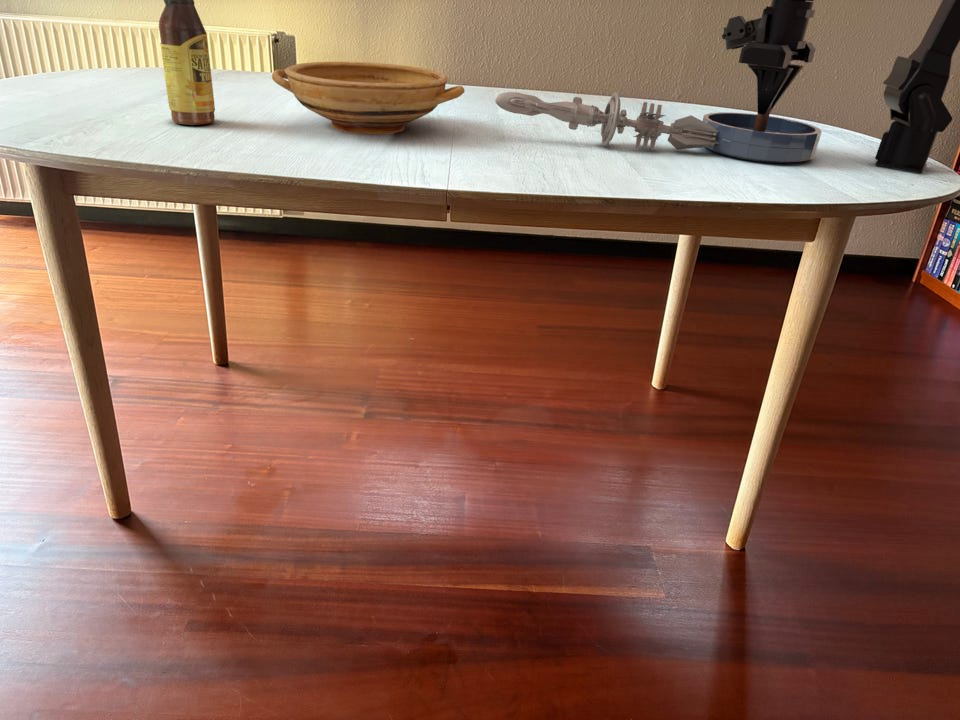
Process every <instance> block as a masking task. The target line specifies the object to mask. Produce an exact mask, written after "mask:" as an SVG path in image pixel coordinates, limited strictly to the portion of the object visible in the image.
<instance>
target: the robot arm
mask: <svg viewBox="0 0 960 720" xmlns="http://www.w3.org/2000/svg"><path fill="white" fill-rule="evenodd" d="M814 2H815V0H771V2H770V6H768V5H767V6H766V7H765V8H764V9H763V10H762V14H761V17H759V18H755V19H750V20H747V21H746V19H745V17H744V15H737V16H734V17H733V16H732V17H730V18H729V19H728V22H727V24H726V27H723V33H722V34H721V39H722V40H725V50H726V51H729V50H732V51H733V50H737V49H741V50H740V55H739V57H738V58H739V59H738V63H740V64H746V65H747V66H748V68H749V69H750V70H751V71H752V72H753V74H754V75H755V76H756V87H757V89H756V90H757V92H756V93H757V97H756V98H757V113H758V114H763V115H764V114H766V112H767V111H768V109H769V107H770V106H771V104H772V107H771V111H770V113H771V112H772V111H773V109H774V108H775V106H776V105H777V103H778V102H779V100H780V99H781V98H782V96H783V95H784V94H785V92H786V91H787V90H788V88H789V87H790V85H791V84H792V83H793V81H795V79H796V78H797V76H798V75H799V74H800V72H801V71H802V70H803V69H804V67H805V66H804V65H800V64H795V63H796V61H799V62H801V61H802V62H803V63H805V64H808V63H813V59H814V56H815V53H816V48H815V46H814V44H813V43H812V41H807V40H805V37H806V33H807V29H808V26H809V21H810V18H812V19H813V18H814V16H815V12H816V9H813V8H814ZM959 43H960V0H941V3H940V4H939V6H938V8H937V10H936V11H935V14H934V16H933V18H932V20H931V21H930V24H929V26H928V28H927V29H926V32H925V34H924V36H923V38H922V39H921V41H920V43H919V45H918V46H917V47H916V49H915V50H914V51H912V53H911V54H910V55H909V56H908V57H905V56H901V55H898V56H897V57H896V58H895V61H894V63H893V66H892V69H891V72H890V73H889V75H888V77H886V79H885V80H884V81H883V82H882V84H883V85H886V86H885V88H884V91H883V98H884V101H885V104H886V106H887V107H888V108H889V119H890V121H893V122H891V124H890V126H889V129H888V130H886V131H885V132H883V134H882V137H881V139H880V143H879V146H878V149H877V151H876V154H875V156H874V159H875V160H876V161H875V164H874V165H876V166H879V167H885V168H890V169H896V170H901V171H906V172H907V171H908V172H912V173H919V174H922V173H923V172H924V171H925V169H926V168H927V167H928V164H927V162H928V160H929V156H930V154H931V153H932V149H933V146H934V144H935V141H936V139H937V136H938V134H939V133H943V132H944V131H945V130H946V129H947V127H948V126H949V125H950V124H951V122H952V121H953V116H952V114H951V113H950V111H949V110H948V108H947V107H946V104H945V103H944V101H943V100H942V99H943V97H944V93H945V91H946V88H947V86H948V83H949V80H950V76H951V68H952V61H953V56H954V54H955V51H956V49H957V48H958V46H959Z"/></svg>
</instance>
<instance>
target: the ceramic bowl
mask: <svg viewBox="0 0 960 720" xmlns="http://www.w3.org/2000/svg"><path fill="white" fill-rule="evenodd" d="M271 79H272V81H273V82H274V83H275V84H277V85H278V86H280V87H282V88H283V89H285V90H287V91H288V92H290V93H291V94H293V96H294V97H295V99H296V100H297V102H298V103H300V104H301V105H302V106H303V107H304V108H306V109H307V110H309V111H311V112H313V113H315V114H316V115H318V116H321V117H323V118H324V119H326V120H328V121H331V127H332V128H334V130H335V129H336V130H338V131H341V132H345V133H351V134H357V135H359V134H360V135H390V134H396V133H401V132H403V131H404V130H405V129H406V124H409V123H411V122H413V121H415V120H418V119H419V118H422V117H424V116H427V115H428V114H431V113H432V112H433V111H434V110H435V109H436V108H437V107H438V105H441V104H445V103H446V102H449V101H452V100H456V99H457V98H460V97H461V96H462V95H463V94H464V93H465V87H464V86H463V85H456V86H452V87H448V88H446V85H447V84H448V81H449V78H448V76H447V75H445V74H444V73H442V72H439V71H437V70H432V69H429V68H422V67H417V66H411V65H403V64H393V63H382V62H367V61H311V62H302V63H296V64H292V65H290V66H287V67H285V69H276V70H274V71H272V73H271Z"/></svg>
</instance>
